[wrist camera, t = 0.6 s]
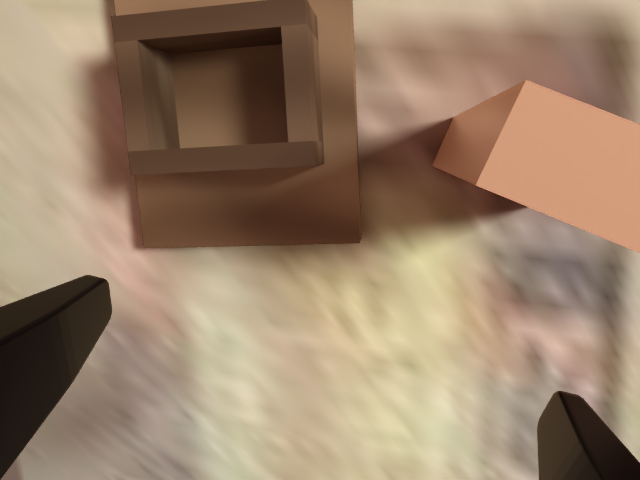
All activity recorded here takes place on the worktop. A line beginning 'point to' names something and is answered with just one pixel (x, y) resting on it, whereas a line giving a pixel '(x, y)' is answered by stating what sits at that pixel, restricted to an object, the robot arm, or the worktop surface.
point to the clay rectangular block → (551, 159)
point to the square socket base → (240, 120)
